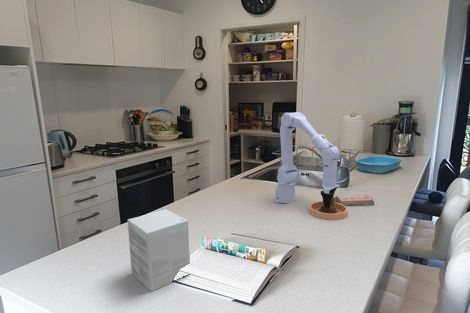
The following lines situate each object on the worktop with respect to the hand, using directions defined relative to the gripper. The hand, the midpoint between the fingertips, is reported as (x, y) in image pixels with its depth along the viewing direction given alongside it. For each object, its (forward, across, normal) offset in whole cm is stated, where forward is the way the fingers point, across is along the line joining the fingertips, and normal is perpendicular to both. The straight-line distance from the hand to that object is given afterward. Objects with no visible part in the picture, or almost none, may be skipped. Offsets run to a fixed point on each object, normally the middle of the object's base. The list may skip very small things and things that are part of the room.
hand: (328, 204), depth 141 cm
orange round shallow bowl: (+5, 0, 0) cm, 5 cm away
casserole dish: (+5, +99, -20) cm, 102 cm away
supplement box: (+5, -67, +40) cm, 78 cm away
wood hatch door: (+4, 0, 0) cm, 4 cm away
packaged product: (+5, +17, -9) cm, 20 cm away
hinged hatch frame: (+4, 0, 0) cm, 4 cm away
